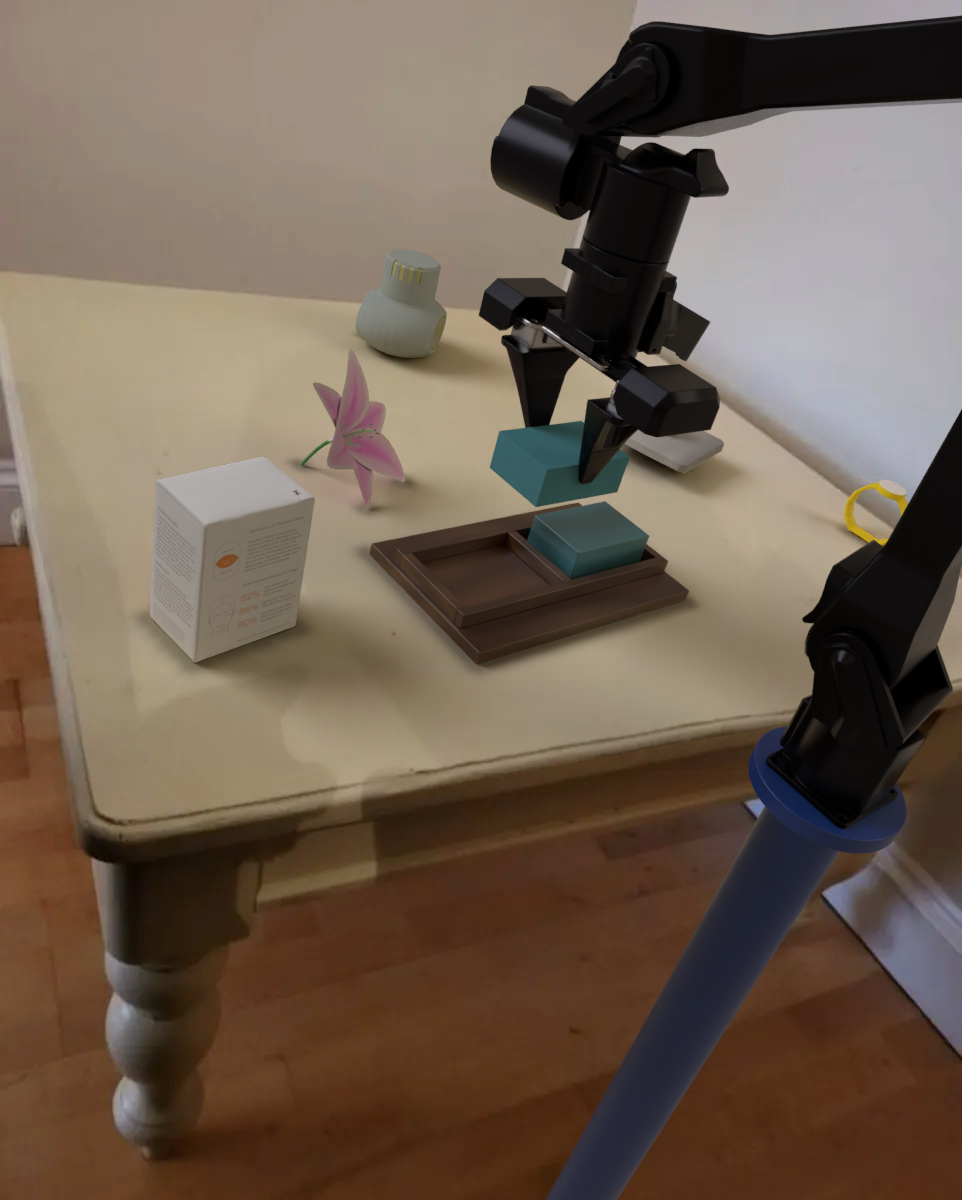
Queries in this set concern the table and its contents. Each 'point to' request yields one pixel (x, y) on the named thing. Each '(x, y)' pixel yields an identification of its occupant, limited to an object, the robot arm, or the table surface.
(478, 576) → the brown two-compartment tray
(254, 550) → the small box
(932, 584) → the robot arm
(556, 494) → the pad
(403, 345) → the air freshener
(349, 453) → the lily
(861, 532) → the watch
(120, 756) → the table surface
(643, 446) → the light switch
